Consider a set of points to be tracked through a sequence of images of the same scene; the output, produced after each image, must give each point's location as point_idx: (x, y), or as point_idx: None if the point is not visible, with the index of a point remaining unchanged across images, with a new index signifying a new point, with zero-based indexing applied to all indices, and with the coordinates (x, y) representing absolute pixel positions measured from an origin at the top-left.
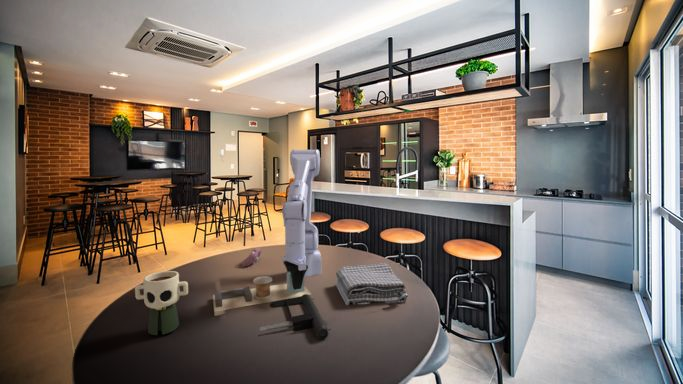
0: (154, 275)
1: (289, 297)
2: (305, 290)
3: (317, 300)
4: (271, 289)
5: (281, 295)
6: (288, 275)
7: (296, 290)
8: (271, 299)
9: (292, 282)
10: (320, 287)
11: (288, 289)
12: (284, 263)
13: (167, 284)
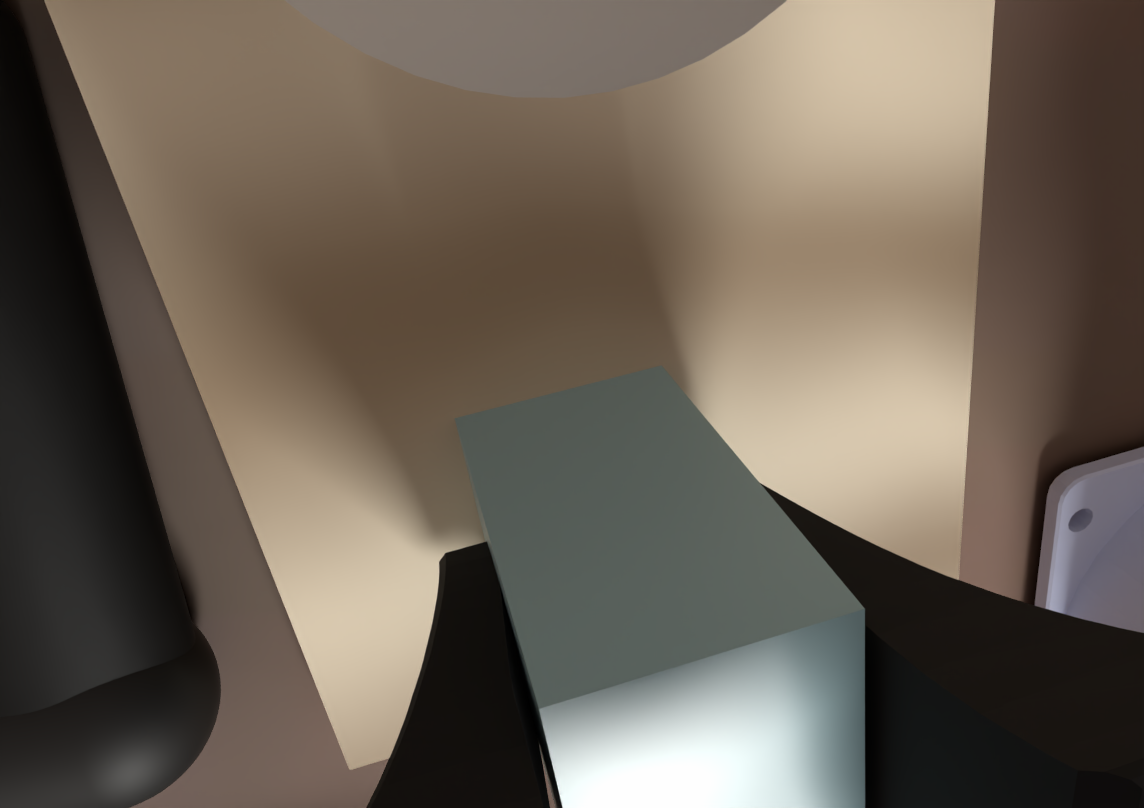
0: None
1: (249, 422)
2: None
3: (256, 787)
4: (784, 25)
5: (385, 256)
6: (631, 644)
7: None
8: (174, 3)
9: (476, 627)
10: None
11: (549, 423)
12: (1129, 779)
13: None
